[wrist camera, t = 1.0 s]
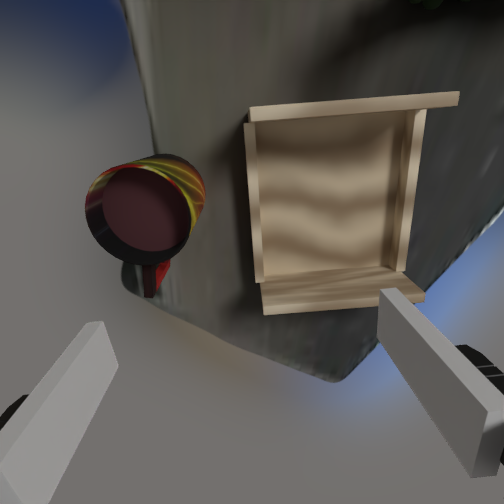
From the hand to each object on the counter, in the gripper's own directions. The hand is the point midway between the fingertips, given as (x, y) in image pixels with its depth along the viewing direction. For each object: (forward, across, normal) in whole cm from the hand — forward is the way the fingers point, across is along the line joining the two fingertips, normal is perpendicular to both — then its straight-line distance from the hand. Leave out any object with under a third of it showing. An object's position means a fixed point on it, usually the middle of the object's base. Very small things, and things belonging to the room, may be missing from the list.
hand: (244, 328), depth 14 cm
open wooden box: (+27, +11, -1) cm, 29 cm away
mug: (+28, -9, 0) cm, 29 cm away
